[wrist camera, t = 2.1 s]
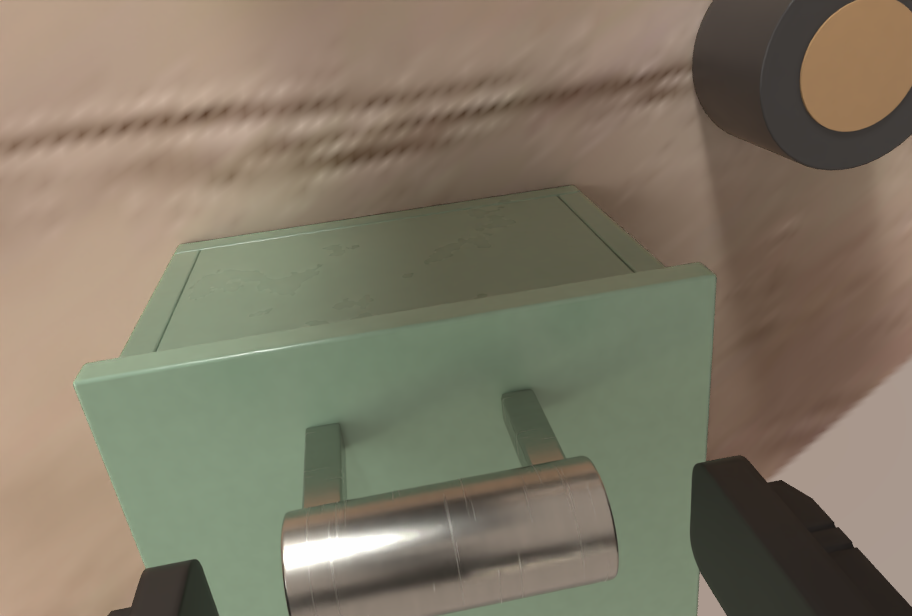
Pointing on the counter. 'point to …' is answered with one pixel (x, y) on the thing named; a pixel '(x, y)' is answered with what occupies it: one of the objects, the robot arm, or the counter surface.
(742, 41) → the tape
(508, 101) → the counter surface
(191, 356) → the lid
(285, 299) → the bin
